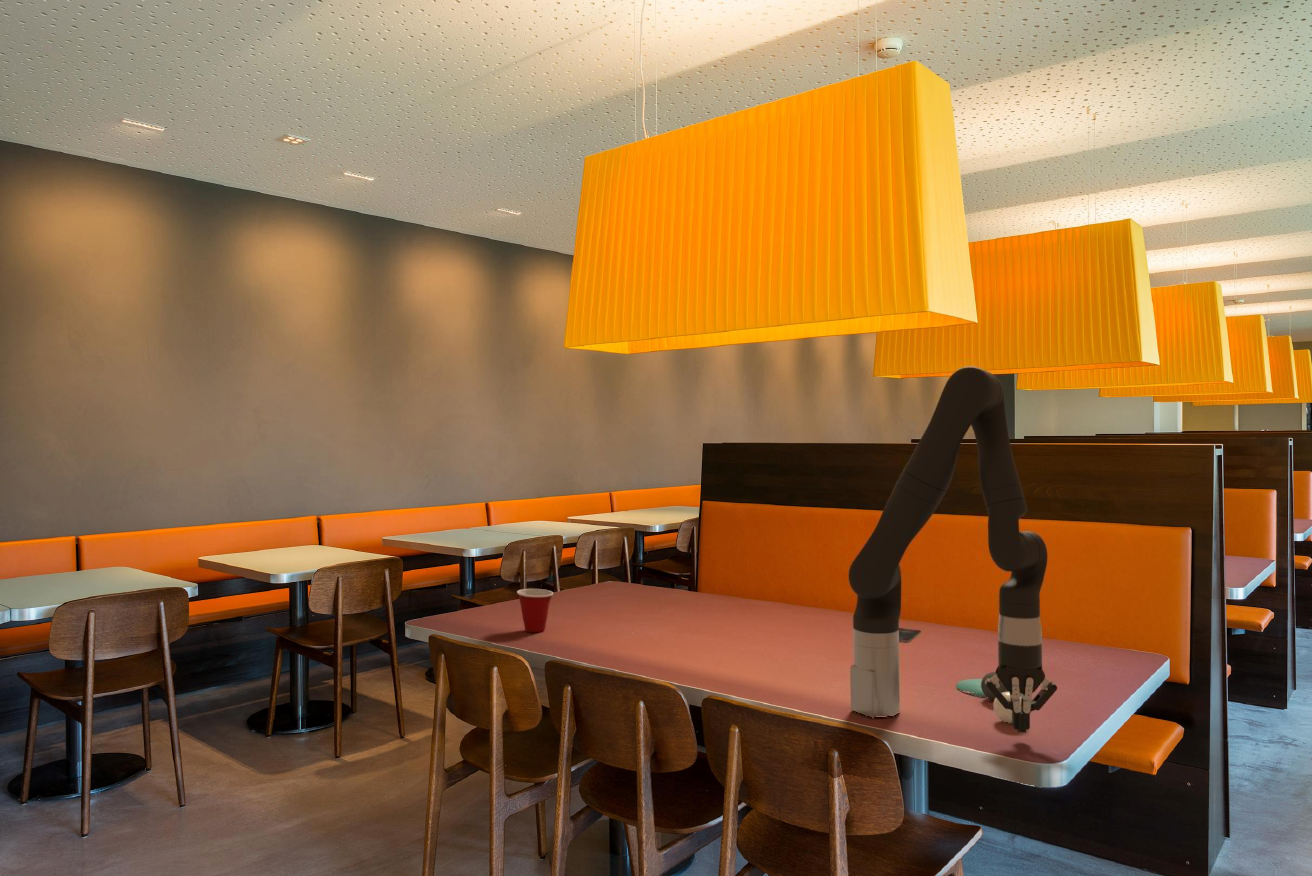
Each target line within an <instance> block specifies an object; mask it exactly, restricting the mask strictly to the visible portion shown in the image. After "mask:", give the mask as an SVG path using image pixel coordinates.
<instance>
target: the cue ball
mask: <svg viewBox="0 0 1312 876" xmlns="http://www.w3.org/2000/svg"><path fill="white" fill-rule="evenodd" d="M1002 694H1003V696H1004V697H1005V698H1006V699H1007V700H1009V701H1011V700H1010V694H1009V692H1003V693H1002ZM992 705H993V712H994V714H995V715H996V717H997V718H998V719H999V720H1000V721H1002V722H1004V723H1006V722H1008V723H1007V724H1012V710H1010V709H1005V708H1004V707H1003V705H1002V704H1001V703H1000V702H999V701H998V699H997V698H995V700H993V704H992ZM1020 708H1021V696H1020Z"/></svg>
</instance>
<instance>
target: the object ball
mask: <svg viewBox="0 0 1312 876" xmlns="http://www.w3.org/2000/svg"><path fill="white" fill-rule="evenodd" d="M995 674H996V671H991V672H989V673H986V674H985V675H984V676H983V677H982V678H981V679H982V682H981V688H982V691H983V693H984V694H985V696H986V697H988V698H987V699H989V700H991V701H994V700H995V698H996V697H995V696H994V694H993V693H992V692H991V691H990V689H989V688H988V687H987V685H986V684H985V682H984V681H985V679H986V678H989V679H990V678H991V677H992V676H994V675H995ZM999 685H1000V687H999V688H998V689H999V691H1000V692H1001V693H1003V692H1009V691H1008V690H1007V689H1006V688H1005V686H1004V685H1003V684H1002V682H1001V681H1000V680H999Z"/></svg>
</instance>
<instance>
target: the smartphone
mask: <svg viewBox="0 0 1312 876" xmlns="http://www.w3.org/2000/svg"><path fill="white" fill-rule="evenodd" d="M921 633H922V630H920V629H913V628H904V627H899V643H911V641H913V640H914V639H915V638H917V637H918V636H919V635H920V634H921Z"/></svg>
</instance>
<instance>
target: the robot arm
mask: <svg viewBox="0 0 1312 876" xmlns="http://www.w3.org/2000/svg"><path fill="white" fill-rule="evenodd" d="M1007 423H1008V422H1007V416H1006V404H1005V396H1004V389H1003V384H1002V382H1001V381H1000V379H999V378H998V377H997V376H996V375H995V374H993V373H991V372H989V371H987V370H985V369H982V368H979V367H977V366H964V367H961V368H959V369H957V370H955V372H953V373H952V374H951V376H950V377H949V378H948V379H947V381H946V382H945V385H944V387H943V389H942V392H941V394H940V396H939V399H938V402H937V404H936V407H935V409H934V411H933V414H932V416H931V418H930V421H929V423H928V425H927V427H926V429H925V430H924V432H923V433H922V436H921V438H920V440H919V441H918V443H917V445H916V447H915V449H914V450H913V453H912V454H911V456H910V457H909V459H908V460H907V463H906V464H905V466H904V468H903V470H902V471H901V472H900V475H899V478H898V479H897V480H896V483H895V485H894V488H893V489H892V492H891V493H890V495H889V497H888V499H887V501H886V504H885V506H884V508H883V510H882V513H881V515H880V518H879V520H878V522H877V524H876V526H875V528H874V530H873V532H872V533H871V535H870V536H869V538H868V539H867V540H866V542H865V543H864V545H863V547H862V548H861V550H860V551H859V553H858V554H857V555H856V557H855V558H854V559H853V561H852V562H851V564H850V566H849V569H848V570H849V571H848V583H849V586H850V587H851V589H852V591H853V592H854V593H855V594H856V597H857V598H856V599H857V600H856V606H855V609H854V613H853V616H852V633H853V634H852V635H853V636H852V639H853V643H852V644H853V646H852V647H853V649H852V650H853V651H852V653H853V655H852V656H853V664H851V665H850V666H849V671H850V673H849V674H850V677H849V678H850V682H849V684H850V685H849V686H850V711H851V710H853V711H856V712H859V713H861V714H864V715H867V716H870V717H876V716H890V715H894V714H897V713H898V712H899V711H900V712H901V702H900V699H901V697H900V642H899V628H900V625H899V624H900V617H901V612H902V571H901V566H900V563H901V561H902V558H903V557H904V554H906V553H905V552H906V551H907V548H908V547H909V545H910V544H911V542H912V541H913V540H914V539H915V538H916V537H917V535H918V534H919V533H920V532H921V530H922V529H923V528H924V527H925V525H926V524H927V523H928V521H929V520H930V518H932V515H933V514H935V511H936V510H937V508H938V507H939V505H940V503H941V502H942V500H943V498H944V497H945V495H946V492H947V491H948V489H949V487H950V485H951V482H952V480H953V477H954V472H955V469H956V465H957V459H958V455H959V451H960V446H961V444H962V442H963V439H964V437H965V436H966V434H967V432H968V430H969V429H970V427H971V428H972V430H973V433H974V434H973V435H974V437H975V441H976V445H977V457H978V458H977V459H978V460H977V461H978V462H977V463H978V476H979V477H978V478H979V483H980V488H981V493H982V497H983V501H984V505H985V507H986V511H987V516H988V519H987V544H988V550H989V551H988V552H989V554H990V557H991V559H992V561H993V563H994V564H995V565H996V566H997V567H998V568H999V569H1001V570H1002V571H1005V572H1011V573H1010V578H1009V579H1008V580H1007V581H1005V582H1004V583H1002V584H1001V586H1000V587H999V590H998V591H999V592H998V615H999V616H998V620H997V621H998V623H997V624H998V625H997V644H998V645H997V648H998V649H997V652H998V653H997V655H998V656H997V657H998V660H997V661H998V664H997V668H996V670H995V672H996V674H995V675H994V676H992V677H991V678H990V679H989V678H986V679H985V681H984V682H985V684H986V685H987V687H988V688H989V689H990V691H991V692H992V693H993V694H994V696H995V697H996V698H997V699H998V701H999V702H1000V703H1001V704H1002V705H1003V707H1004V708H1005V709H1010V710H1012V723H1011V725H1012V726H1013V728H1014V730H1016V732H1017V733H1022V734H1023V733H1024V734H1027V731H1029V730H1030V728H1031V720H1030V719H1031V712H1034V711H1040V710H1041V709H1042V707H1044V705H1046V703H1047V702H1048V701H1049V700H1050V698H1051V697H1052V696H1053V695H1054V694H1055V692H1057V690H1058V686H1057V684H1056V683H1055V682H1054V681H1053V680H1049V679H1048V678H1047V677H1046V674H1045V671H1044V669H1043V633H1042V623H1041V599H1040V598H1041V597H1040V594H1041V589H1042V586H1043V582H1044V578H1045V576H1046V575H1045V574H1046V570H1047V565H1048V556H1049V555H1048V549H1047V548H1048V547H1047V545H1046V542H1045V540H1044V539H1043V538H1042V537H1041V535H1039V534H1038V533H1036V532H1034V531H1029V530H1025V531H1020V519H1021V518H1023V517H1025V515H1026V514H1027V512H1028V506H1027V502H1026V498H1025V497H1026V496H1025V494H1024V492H1023V488H1022V484H1021V481H1020V477H1019V473H1018V469H1017V467H1016V463H1015V459H1014V454H1013V451H1012V445H1011V442H1010V435H1009V430H1008V424H1007ZM999 680H1000V681H1001V682H1002V684H1003V685H1004V686H1005V688H1006V689H1007V690H1008V691H1009V694H1010V700H1011V701H1009V700H1007V699H1006V698H1005V697H1004V696H1003V694H1002V693H1001V692H1000V691H999V689H998V688H999V687H1000V685H999ZM1039 687H1041V689H1040V691H1039V692H1037V694H1036V695H1035V696H1034V697H1033V694H1034V693H1035V692H1036V691H1037V689H1038V688H1039ZM1020 693H1021V696H1020ZM1020 697H1021V708H1020ZM853 711H852V712H853ZM856 712H855V713H856ZM859 713H858V714H859ZM861 714H860V715H861ZM864 715H863V716H864ZM867 716H866V717H867ZM870 717H869V718H870Z"/></svg>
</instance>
